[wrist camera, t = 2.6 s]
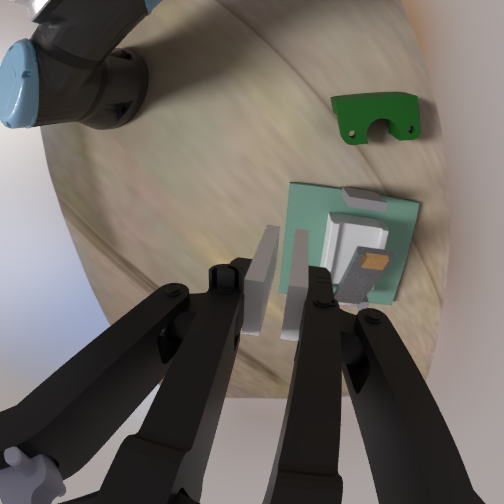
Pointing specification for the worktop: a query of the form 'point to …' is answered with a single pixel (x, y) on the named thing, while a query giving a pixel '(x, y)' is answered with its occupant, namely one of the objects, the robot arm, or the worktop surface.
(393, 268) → the board
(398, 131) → the clamp
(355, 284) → the grey flat bar
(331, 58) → the worktop surface
